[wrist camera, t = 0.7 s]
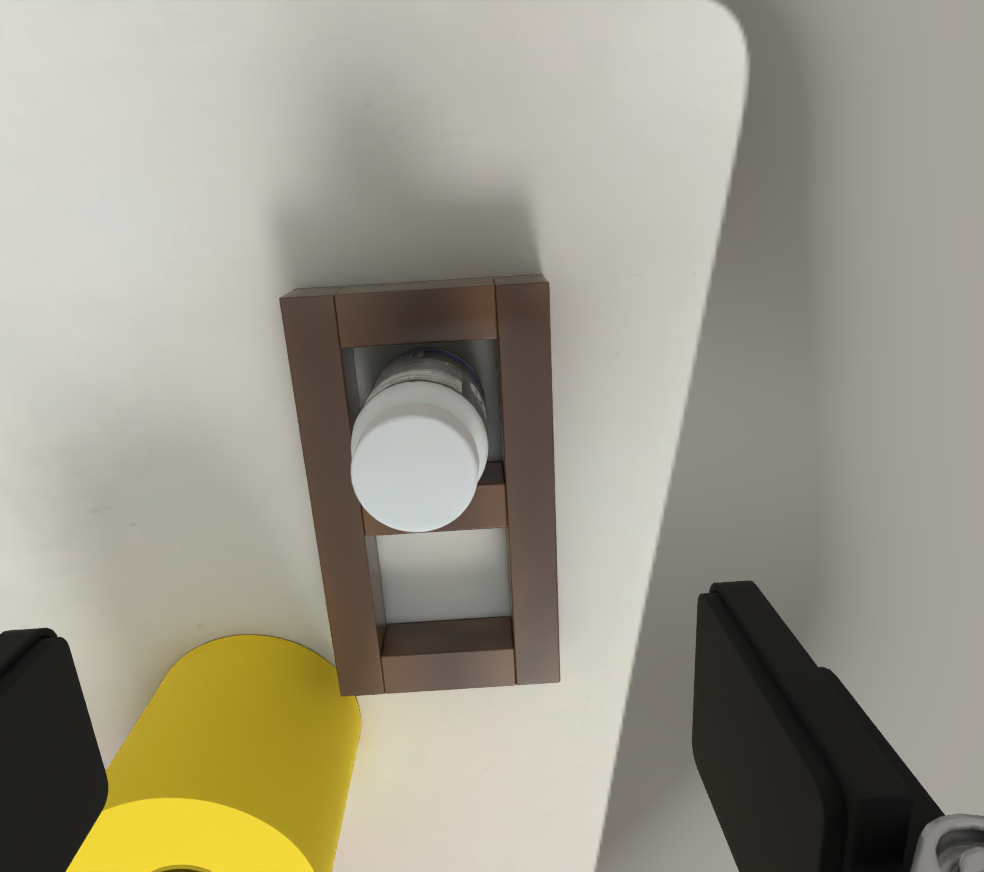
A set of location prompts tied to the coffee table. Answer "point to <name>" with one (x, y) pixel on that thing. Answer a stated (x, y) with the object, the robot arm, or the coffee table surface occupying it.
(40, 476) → the coffee table surface
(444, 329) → the holder
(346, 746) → the yellow toilet paper roll
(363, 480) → the pill bottle
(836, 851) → the robot arm
